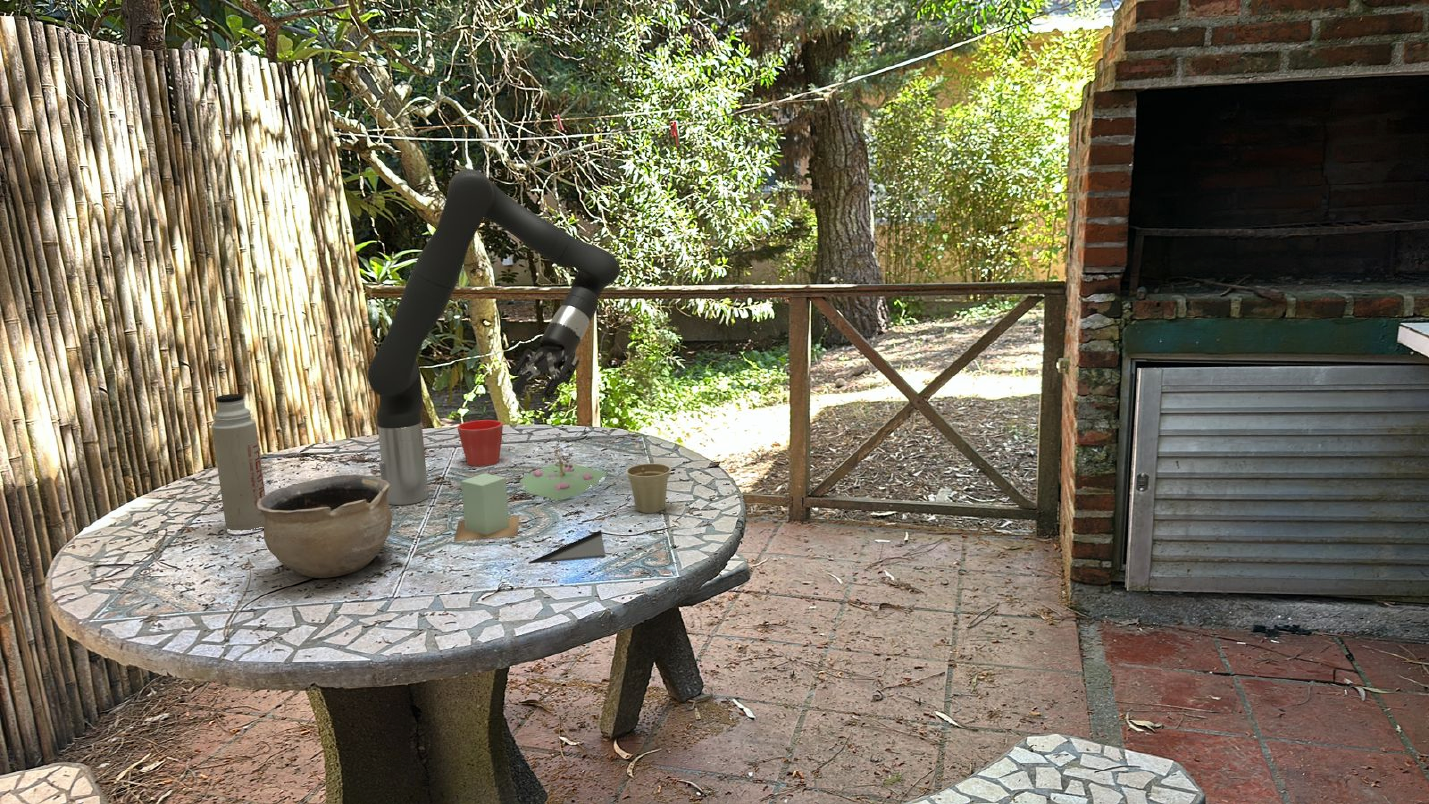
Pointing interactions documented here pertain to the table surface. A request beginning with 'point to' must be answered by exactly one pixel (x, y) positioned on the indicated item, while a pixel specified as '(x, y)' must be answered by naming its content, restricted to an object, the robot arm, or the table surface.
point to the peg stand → (506, 532)
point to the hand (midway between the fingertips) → (530, 395)
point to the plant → (561, 479)
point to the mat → (577, 550)
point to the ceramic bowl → (327, 524)
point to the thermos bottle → (238, 463)
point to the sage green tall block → (485, 504)
